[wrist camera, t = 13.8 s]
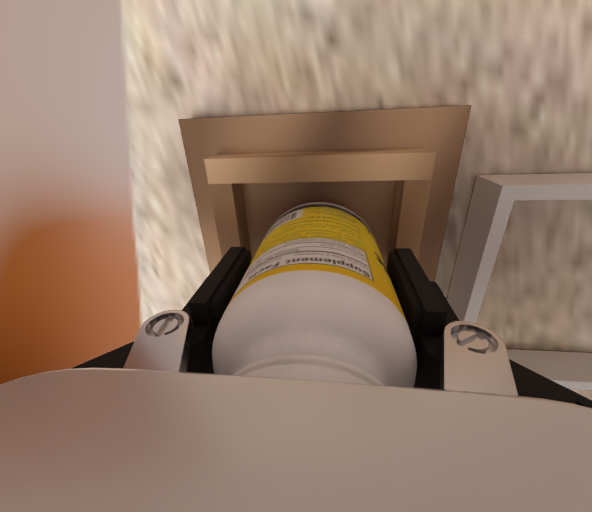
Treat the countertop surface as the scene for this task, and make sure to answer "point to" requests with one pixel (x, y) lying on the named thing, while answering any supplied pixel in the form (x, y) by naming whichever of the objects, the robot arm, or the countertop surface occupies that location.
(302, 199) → the brown wooden square tray
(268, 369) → the supplement bottle
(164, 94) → the countertop surface
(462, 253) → the frame
